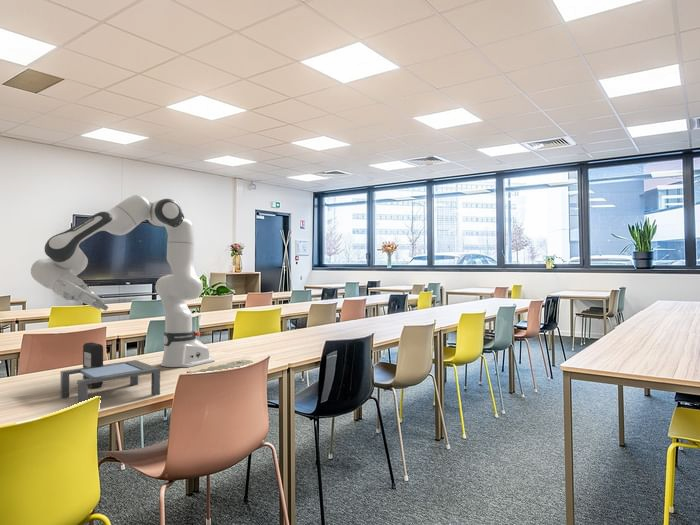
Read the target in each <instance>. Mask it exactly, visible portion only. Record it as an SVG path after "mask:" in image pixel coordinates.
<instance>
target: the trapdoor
mask: <svg viewBox="0 0 700 525" xmlns="http://www.w3.org/2000/svg"><path fill="white" fill-rule="evenodd" d="M138 370H140V369H138V368H135V367H133V366H130V365H128V364H118V365H111V366H104V367H98V368H91V369H84V370H81V373H80V375H82V376H83V375H85V376H87V377H89V378H95V377H101V376H107V375H113V374H119V373H126V372H132V371H138Z"/></svg>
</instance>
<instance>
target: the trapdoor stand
mask: <svg viewBox="0 0 700 525" xmlns="http://www.w3.org/2000/svg"><path fill="white" fill-rule="evenodd" d="M118 364H128V365H130V366H133V367H135V368H138V369H140V370H138V371H132V372H126V373H119V374H113V375H107V376H101V377H95V378H89V379H83V378H82V379H78V380H77V381H76V384H77V404H78V403H79V402H82V401H85V400H87V401H88V386H87V384H91V383H97V382H103V383H104V382H108V381H113V380H118V379H125V378H129V384H130V385H131V386H137V385H139V376H143V375H147V374H151V379H150V380H151V390H150V391H151V393H150V395H152V396H156V395H160V394H161V368H159V367H157V366H154V365H151V364H148V363H145V362H143V361H140V360H137V359H136V360H134V359H133V360H127V361H121V362H113V363H108V364H103V365H99V366H92V367H85V368H83V367H80V368H79V367H78V368H72V369H66V370H60V387H59V388H60V391H59V392H60V395H59V396H60V398H61V399H66V398H70V376H71V375H75V374H81V370H84V369H91V368H98V367H104V366H111V365H118Z"/></svg>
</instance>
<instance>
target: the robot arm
mask: <svg viewBox="0 0 700 525" xmlns="http://www.w3.org/2000/svg"><path fill="white" fill-rule="evenodd" d="M142 222H146V223H147V224H149V225H150V226H152V227H157V228H161V227H164V228H165V230H166V232H167V240H166V241H167V244H166V261H167V264H169V266H170V269H171V272H172V274H167V275H163V276H162V277H159V278H158V279H157V281H156V283H155V291H156V294H157V295H158V296H159V297H160V300H161V301H160V302H161V304H162V307H163V310H164V330H165V331H164V333H163V344H164V348H163V356H162V359H161V362H160V363H161V364H160V366H162V367H165V368H166V367H168V368H190V367H194V366H200V365H204V364H208V363H213V362H215V357H213V356H211V355H210V350H209V348H208V346H207V345H206V344H204V343H202V342H201V341H200V340H199V339H197V338H196V337H200V336H201V333H200V331H195V330H193V313H192V310H190V309H189V307H188V304H187V301H191V300H195V299H198V298H199V297H200V296H201V295H202V293H203V290H204V284H203V282H202V280H201V278H199V276H198V273H197V271H196V266H195V261H194V257H195V255H194V254H195V253H194V252H195V251H194V250H195V231H194V224H193V222H192V221H191V220H190V219H187V218H185V214H184V213H183V209H182V207H181V206H180V204H179V202H177V201H176V200H174V199H172V198H162V199H158V200H156V201H154V202H151V201H149V199H147V198H146V197H144V196H143V195H141V194H133V195H131V196H129V197H127V198H125V199H124V200H122V201H121V202H119V203H118V204H116V205H115V206H114V207H112V208H111V209H109V210H106V211H100V212H97V213H94V214H93V215H91V216H89V217H88V218H86V219H83V221H81V222H79V223H78V224H75V225H74V226H72V227H71V228H69V229H67V230H65V231H62V232H60V233H58V234H54V235H53V236H50V237H49V239H48V240H47V241H46V242H45V245H44V253H45V255H46V256H47V258H39V259H37V260H35V262H33V264H32V265H31V268H30V275H31V277H32V278H33V280H35V281H36V283H39V284H40V285H42V286H43V287H44V288H46V289H48V290H51V291H52V292H53V293H54V294H56V295H58V296H59V297H60V298H63V299H64V300H65V301H74V302H78V303H83V304H85V305H87V306H89V307H92V308H94V309H97V310H103V311H107V310H108V308H109V306H108V305H106V304H105V302H106V301H105V300H104V299H103V298H102V297H100V296H99V295H98V294H96V293H95V292H93V291H92V290H91V289H92V288H90V287H89V286H88V284H86V283H85V282H84V280H83V279H81V278H79V275H80V274H81V273H83V272H84V271H85V270H86V268H87V266H88V265H89V259H88V256H86V254H85V252H84V251H83V250H82V248H80V244H81V243H83V241H85V240H86V239H88V238H90V237H92V236H93V235H95V234H96V233H98V232H103V231H104V232H107V233H109V234H111V235H115V236H124V235H126V234H129V233H130V232H132V231H133V230H134V229H136V227H137V226H139V225H140V224H141V223H142Z"/></svg>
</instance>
